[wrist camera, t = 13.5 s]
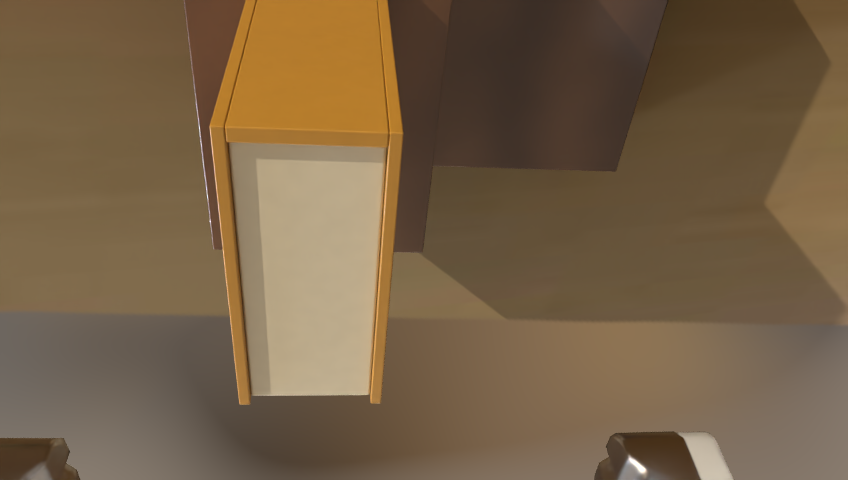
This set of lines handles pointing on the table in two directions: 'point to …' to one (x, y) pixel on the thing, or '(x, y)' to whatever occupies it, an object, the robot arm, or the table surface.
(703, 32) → the table surface
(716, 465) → the robot arm
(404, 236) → the wooden l-shaped block
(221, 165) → the book
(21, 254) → the table surface
